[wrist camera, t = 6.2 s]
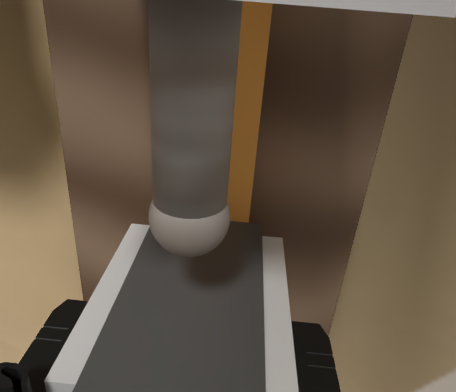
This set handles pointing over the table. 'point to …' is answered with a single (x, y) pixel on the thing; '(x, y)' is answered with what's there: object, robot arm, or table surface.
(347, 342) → the table surface
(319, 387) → the robot arm
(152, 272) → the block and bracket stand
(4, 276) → the table surface
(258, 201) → the board
